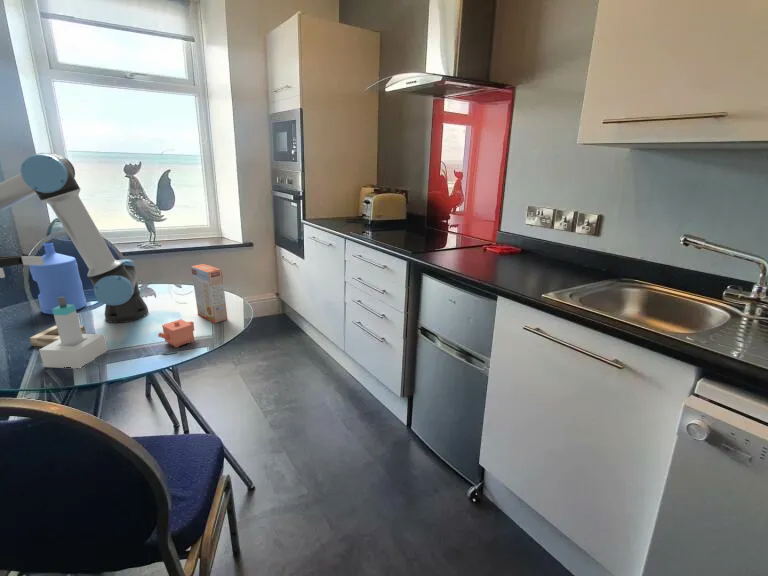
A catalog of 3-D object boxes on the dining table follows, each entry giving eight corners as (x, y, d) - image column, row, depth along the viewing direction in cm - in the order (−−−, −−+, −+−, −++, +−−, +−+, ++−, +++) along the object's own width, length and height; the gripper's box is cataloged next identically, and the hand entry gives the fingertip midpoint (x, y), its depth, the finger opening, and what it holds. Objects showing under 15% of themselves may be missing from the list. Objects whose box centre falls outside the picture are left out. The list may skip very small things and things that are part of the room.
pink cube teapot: (155, 346, 144) (151, 324, 142) (189, 335, 153) (186, 314, 150) (166, 353, 139) (162, 330, 137) (200, 341, 148) (197, 319, 146)
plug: (73, 347, 137) (60, 295, 131) (85, 347, 137) (72, 295, 131) (63, 352, 133) (49, 299, 127) (75, 353, 133) (61, 300, 127)
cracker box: (228, 319, 167) (222, 269, 160) (214, 324, 162) (207, 272, 156) (211, 311, 175) (204, 262, 169) (197, 315, 171) (190, 265, 165)
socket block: (74, 349, 142) (70, 333, 140) (107, 350, 141) (103, 334, 139) (44, 367, 131) (39, 349, 129) (80, 368, 130) (75, 351, 128)
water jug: (95, 301, 186) (80, 239, 177) (69, 315, 171) (52, 248, 162) (60, 301, 186) (44, 239, 177) (31, 315, 171) (12, 248, 162)
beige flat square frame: (58, 332, 155) (56, 325, 154) (85, 333, 154) (84, 326, 153) (31, 345, 145) (29, 337, 144) (61, 347, 144) (59, 339, 143)
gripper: (0, 266, 143) (59, 267, 141) (-82, 289, 119) (-13, 291, 117) (-6, 244, 140) (53, 245, 139) (-92, 264, 117) (-21, 265, 115)
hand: (23, 266), depth 128 cm, fingers open, 13 cm apart
